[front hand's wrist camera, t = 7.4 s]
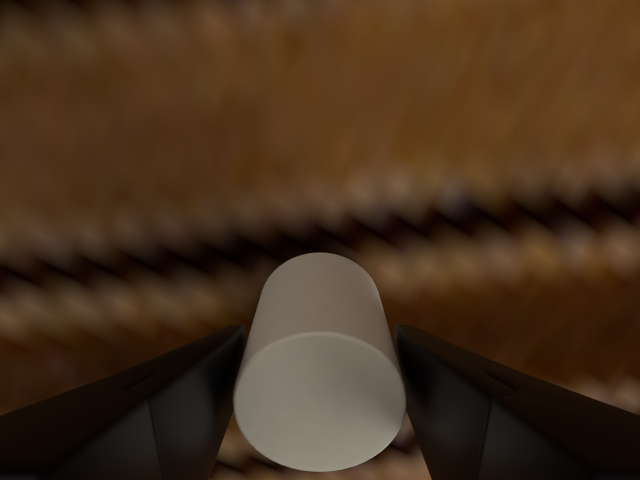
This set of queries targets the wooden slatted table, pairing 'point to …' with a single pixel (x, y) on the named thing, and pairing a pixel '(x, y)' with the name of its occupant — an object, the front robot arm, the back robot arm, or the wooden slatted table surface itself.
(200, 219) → the wooden slatted table surface
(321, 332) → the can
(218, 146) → the wooden slatted table surface
